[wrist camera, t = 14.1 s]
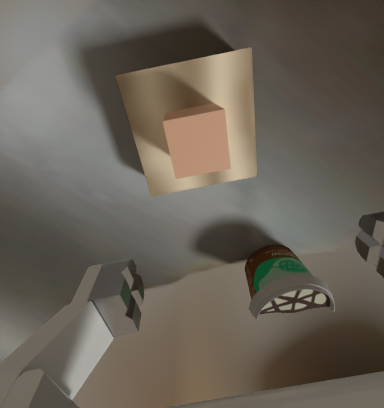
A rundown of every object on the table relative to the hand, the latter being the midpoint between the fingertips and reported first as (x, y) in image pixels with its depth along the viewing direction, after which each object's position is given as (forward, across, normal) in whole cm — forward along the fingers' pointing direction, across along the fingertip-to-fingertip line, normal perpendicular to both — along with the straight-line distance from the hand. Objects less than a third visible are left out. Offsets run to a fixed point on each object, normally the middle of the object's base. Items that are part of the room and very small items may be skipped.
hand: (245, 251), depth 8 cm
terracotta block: (+19, 0, -1) cm, 19 cm away
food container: (+24, -9, +23) cm, 35 cm away
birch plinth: (+24, 0, -1) cm, 24 cm away
